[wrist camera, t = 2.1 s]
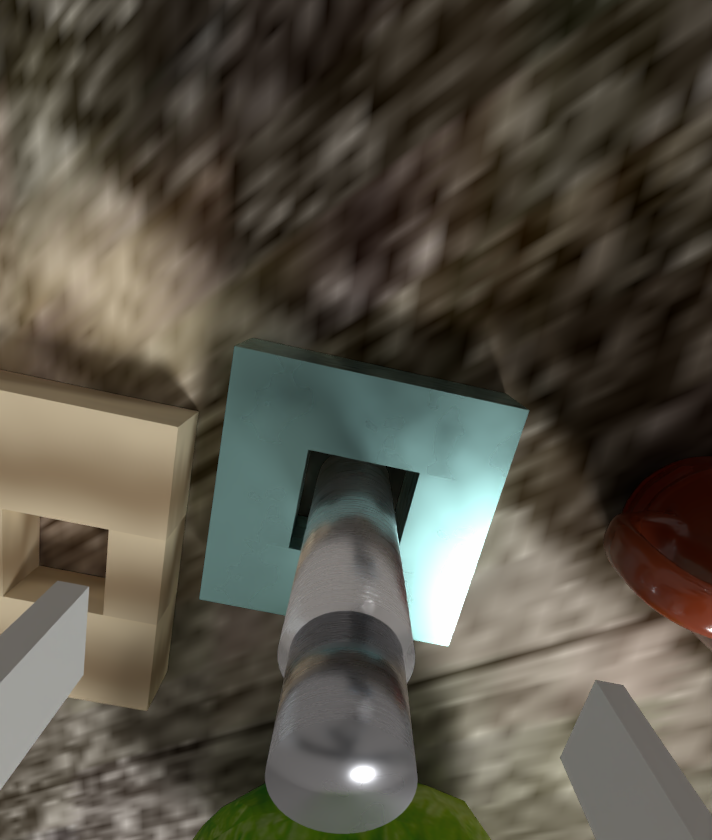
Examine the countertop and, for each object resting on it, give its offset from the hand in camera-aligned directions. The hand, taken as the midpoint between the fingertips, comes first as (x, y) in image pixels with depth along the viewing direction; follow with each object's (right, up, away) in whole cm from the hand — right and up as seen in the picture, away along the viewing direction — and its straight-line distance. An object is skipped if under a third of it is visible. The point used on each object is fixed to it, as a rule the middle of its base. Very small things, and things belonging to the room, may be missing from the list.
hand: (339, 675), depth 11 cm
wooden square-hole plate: (-14, +1, +12) cm, 18 cm away
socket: (0, +4, +11) cm, 11 cm away
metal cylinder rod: (0, +4, +11) cm, 11 cm away
